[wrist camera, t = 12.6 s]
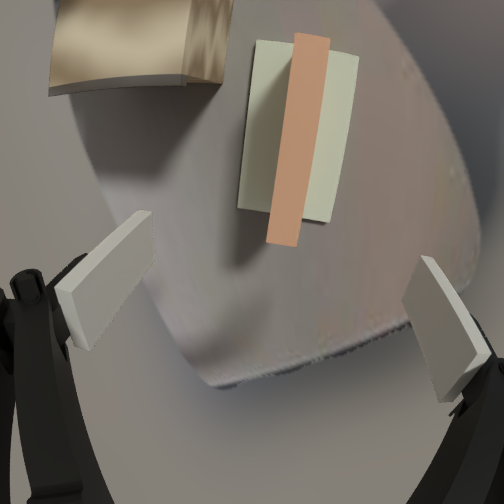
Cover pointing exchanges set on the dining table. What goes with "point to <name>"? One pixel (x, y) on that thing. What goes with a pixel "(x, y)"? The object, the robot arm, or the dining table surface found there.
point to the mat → (271, 123)
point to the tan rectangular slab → (298, 137)
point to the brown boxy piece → (138, 44)
